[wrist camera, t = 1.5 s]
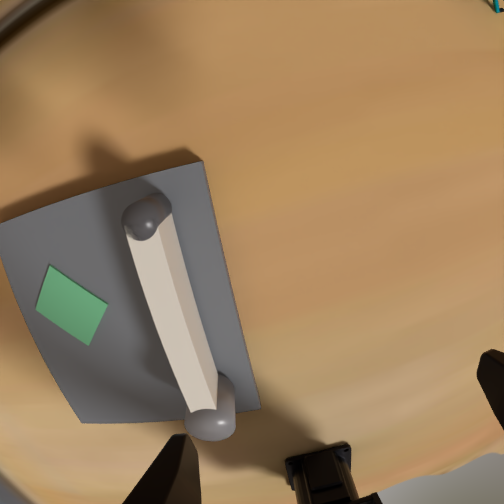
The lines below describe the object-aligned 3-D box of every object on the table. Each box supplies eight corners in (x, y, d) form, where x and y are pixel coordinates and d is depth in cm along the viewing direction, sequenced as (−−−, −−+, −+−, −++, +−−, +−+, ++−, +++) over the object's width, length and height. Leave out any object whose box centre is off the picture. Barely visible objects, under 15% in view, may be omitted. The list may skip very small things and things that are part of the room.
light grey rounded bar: (239, 402, 22) (240, 437, 19) (197, 408, 22) (193, 443, 19) (180, 186, 17) (167, 194, 14) (127, 200, 17) (103, 211, 14)
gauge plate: (259, 398, 24) (261, 410, 22) (85, 414, 24) (81, 424, 23) (203, 160, 18) (200, 161, 17) (1, 223, 19) (-10, 227, 17)
